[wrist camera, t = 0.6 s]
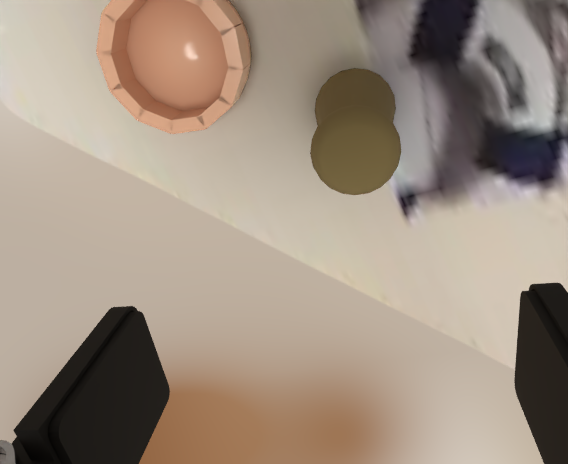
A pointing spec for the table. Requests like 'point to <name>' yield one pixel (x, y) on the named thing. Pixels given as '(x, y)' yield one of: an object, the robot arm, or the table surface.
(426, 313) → the table surface
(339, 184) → the cork
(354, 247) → the table surface
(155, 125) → the copper faceted bowl
